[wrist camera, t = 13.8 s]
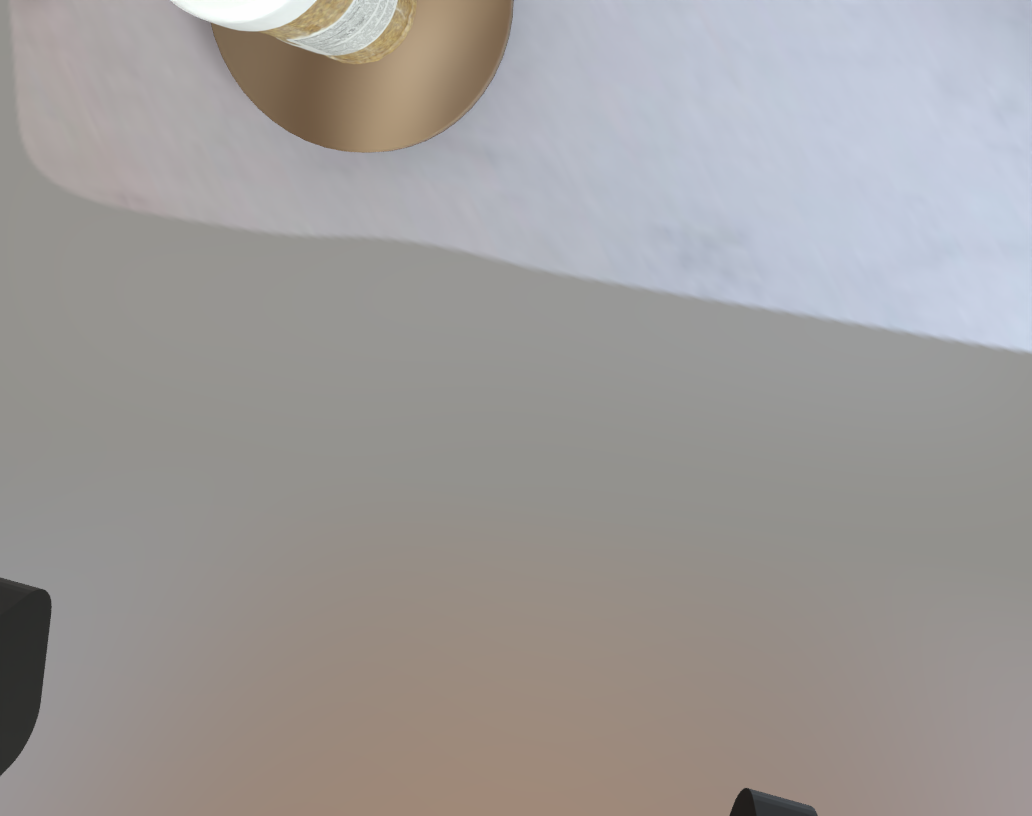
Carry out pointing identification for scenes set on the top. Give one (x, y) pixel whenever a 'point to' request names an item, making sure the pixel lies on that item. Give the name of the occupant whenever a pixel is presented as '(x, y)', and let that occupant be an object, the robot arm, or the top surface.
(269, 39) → the disc
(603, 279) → the top surface
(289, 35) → the sprinkles bottle
